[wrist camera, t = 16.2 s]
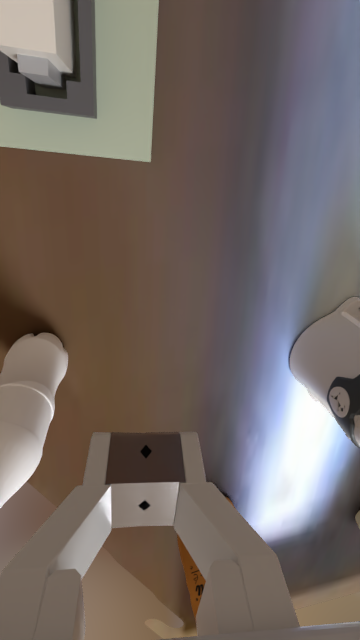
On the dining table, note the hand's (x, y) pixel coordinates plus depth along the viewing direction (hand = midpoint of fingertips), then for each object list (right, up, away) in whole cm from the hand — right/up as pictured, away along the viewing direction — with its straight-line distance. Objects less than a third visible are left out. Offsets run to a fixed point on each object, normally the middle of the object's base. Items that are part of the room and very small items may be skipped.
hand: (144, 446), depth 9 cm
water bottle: (-17, 0, +34) cm, 38 cm away
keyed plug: (-10, +28, +18) cm, 34 cm away
